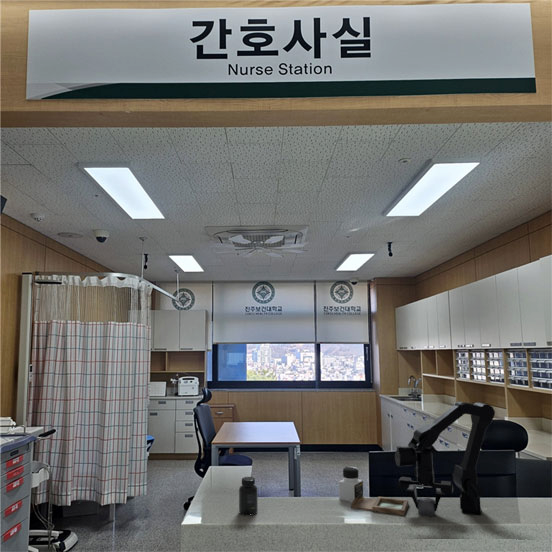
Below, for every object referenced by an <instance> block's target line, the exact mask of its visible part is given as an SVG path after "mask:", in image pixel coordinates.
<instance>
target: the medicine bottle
mask: <svg viewBox="0 0 552 552" xmlns="http://www.w3.org/2000/svg"><path fill="white" fill-rule="evenodd" d="M342 478H343V479H341V480H339V481H338V496H339V497H338V499H339V500H342V501H346V502H351V503H352V502H353V500H354V499H355V498H356V497H358V496H359V498H361V497H364V480H363V479H359V469H358V468H357V467H356V466H355V467H354V466H345V467H344V468H343V469H342Z"/></svg>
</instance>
